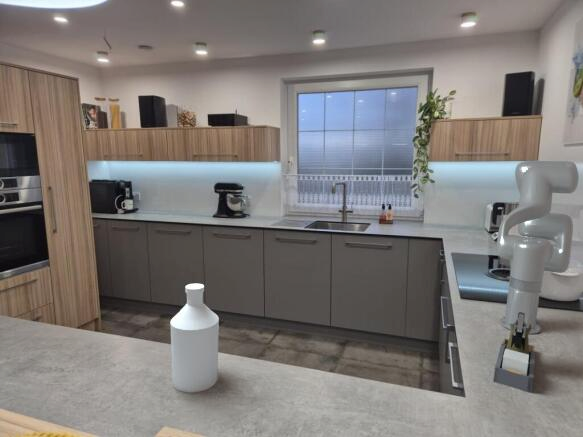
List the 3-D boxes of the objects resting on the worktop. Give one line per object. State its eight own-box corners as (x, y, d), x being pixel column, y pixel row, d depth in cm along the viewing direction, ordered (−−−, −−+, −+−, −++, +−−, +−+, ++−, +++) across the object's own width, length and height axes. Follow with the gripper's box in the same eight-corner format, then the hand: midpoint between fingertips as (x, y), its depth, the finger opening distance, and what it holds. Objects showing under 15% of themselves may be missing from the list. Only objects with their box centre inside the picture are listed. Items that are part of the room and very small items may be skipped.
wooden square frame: (503, 344, 120) (504, 338, 120) (534, 352, 116) (534, 346, 115) (500, 354, 113) (501, 348, 113) (533, 363, 109) (534, 357, 108)
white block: (502, 371, 104) (505, 348, 103) (525, 378, 101) (528, 354, 100) (500, 380, 99) (503, 356, 98) (524, 388, 96) (528, 363, 95)
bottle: (193, 399, 87) (193, 298, 84) (161, 382, 94) (159, 287, 90) (228, 376, 97) (228, 285, 94) (196, 362, 103) (196, 276, 100)
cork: (532, 363, 102) (537, 325, 101) (509, 360, 103) (513, 322, 102) (523, 353, 108) (528, 317, 107) (501, 350, 109) (505, 314, 108)
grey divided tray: (500, 355, 113) (501, 342, 112) (533, 364, 108) (535, 351, 107) (493, 381, 99) (495, 366, 98) (531, 392, 94) (533, 377, 93)
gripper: (512, 275, 112) (505, 332, 115) (507, 289, 99) (500, 353, 101) (541, 280, 108) (534, 339, 110) (541, 295, 94) (532, 362, 97)
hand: (517, 345), depth 106 cm, fingers closed on cork, 3 cm apart
